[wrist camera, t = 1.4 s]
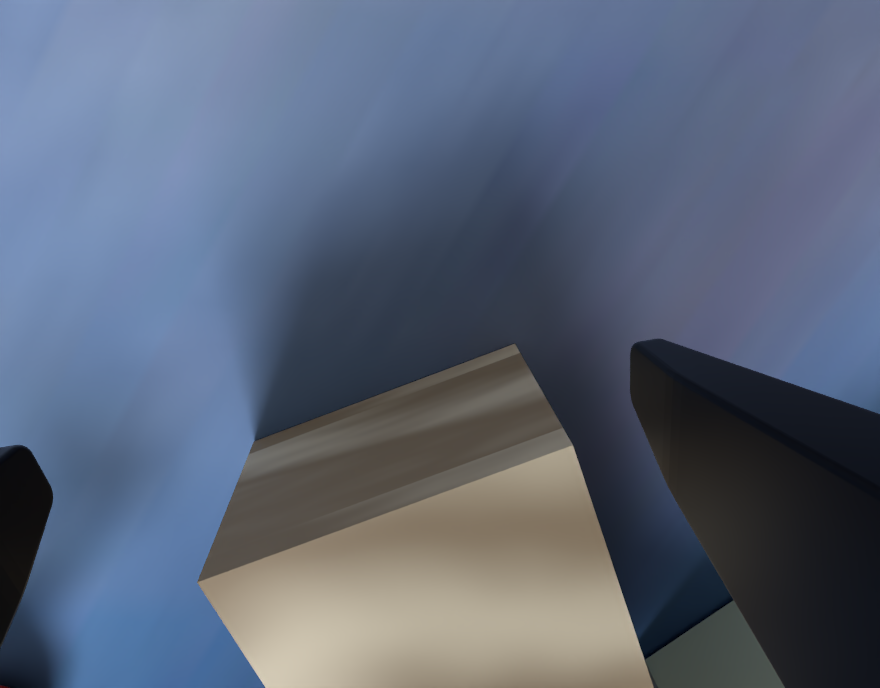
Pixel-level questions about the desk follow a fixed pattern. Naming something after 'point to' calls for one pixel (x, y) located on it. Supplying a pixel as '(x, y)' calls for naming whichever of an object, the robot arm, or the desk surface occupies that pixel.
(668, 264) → the desk surface
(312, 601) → the cabinet
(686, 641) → the door
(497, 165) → the desk surface
